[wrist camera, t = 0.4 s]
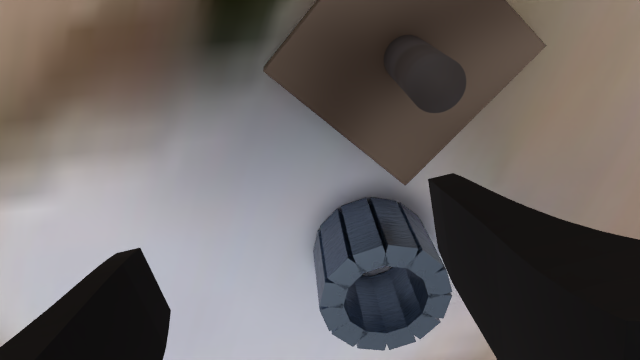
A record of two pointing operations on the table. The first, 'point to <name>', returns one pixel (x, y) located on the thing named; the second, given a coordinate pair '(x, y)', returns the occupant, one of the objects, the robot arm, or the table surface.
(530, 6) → the table surface
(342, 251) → the collar
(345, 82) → the shaft base
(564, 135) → the table surface
